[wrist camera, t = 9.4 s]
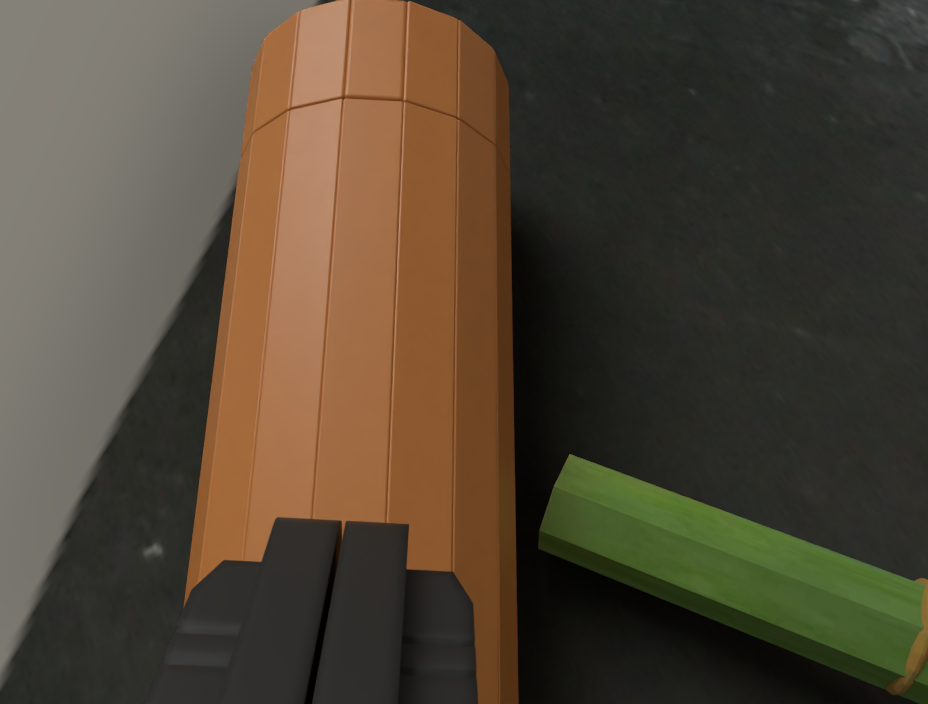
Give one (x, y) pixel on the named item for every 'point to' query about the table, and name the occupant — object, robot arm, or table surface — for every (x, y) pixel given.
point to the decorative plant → (743, 575)
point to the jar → (372, 307)
